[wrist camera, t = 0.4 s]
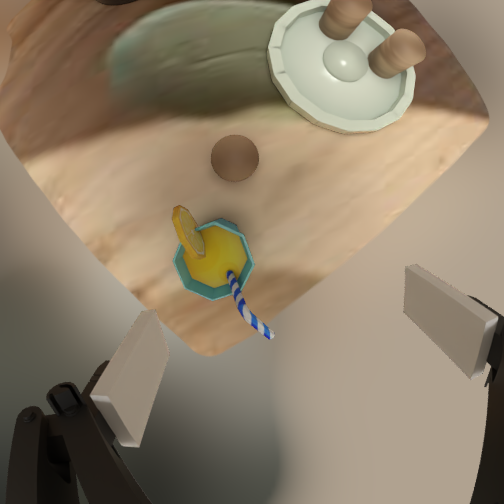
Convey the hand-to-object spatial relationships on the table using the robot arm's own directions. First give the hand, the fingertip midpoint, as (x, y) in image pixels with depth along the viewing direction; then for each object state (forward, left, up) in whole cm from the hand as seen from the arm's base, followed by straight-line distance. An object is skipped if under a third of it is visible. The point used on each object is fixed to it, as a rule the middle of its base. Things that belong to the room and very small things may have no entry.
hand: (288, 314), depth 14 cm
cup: (+1, -5, -24) cm, 25 cm away
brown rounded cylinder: (-26, +14, -23) cm, 38 cm away
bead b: (-21, +20, -23) cm, 37 cm away
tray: (-21, +14, -24) cm, 35 cm away
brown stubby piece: (-9, -2, -24) cm, 26 cm away
